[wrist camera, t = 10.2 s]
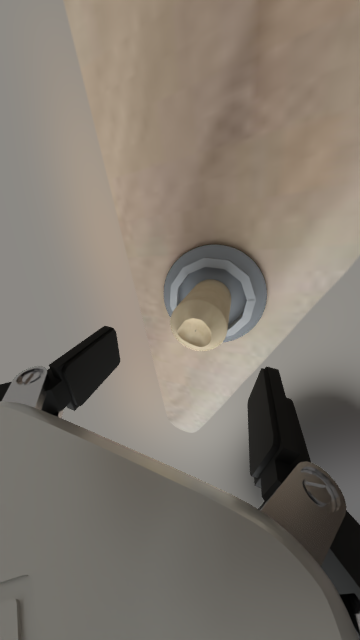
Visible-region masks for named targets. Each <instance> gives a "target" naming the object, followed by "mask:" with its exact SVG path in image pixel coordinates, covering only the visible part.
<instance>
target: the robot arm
mask: <svg viewBox="0 0 360 640" xmlns="http://www.w3.org/2000/svg"><path fill="white" fill-rule="evenodd" d="M119 363H120V356H119V349H118V343H117V336H116V331H115V330H114V328H111V327H108V326H104V327H102V328H101V329H99V330H98V331H97V332H95V333H94V334H92V335H91V336H89V337H88V338H87V339H85V340H84V341H82V342H81V343H80V344H78V345H77V346H75V347H74V348H72V349H71V350H70V351H68V352H67V353H65V354H64V355H62V356H61V357H60V358H58V359H57V360H55V361H54V362H53V363H51V364H50V365H49V366H50V369H48V370H47V369H46V368H45V367H43V366H36V367H32V368H29V369H26V370H24V371H22V372H21V373H19V374H18V375H17V376H16V377H15V378H14V379H13V381H12V382H9V383H5V384H1V385H0V640H360V525H359V524H358V523H357V521H356V520H355V519H354V518H353V517H352V516H351V515H350V514H349V513H348V512H347V510H346V502H345V499H344V496H343V494H342V492H341V490H340V488H339V486H338V485H337V483H336V482H335V481H334V480H333V479H332V478H331V476H330V475H329V474H328V473H327V472H326V471H324V470H323V469H322V468H321V467H319V466H317V465H315V464H314V463H311V461H310V458H309V454H308V451H307V447H306V444H305V441H304V437H303V434H302V430H301V427H300V424H299V420H298V417H297V414H296V410H295V407H294V404H293V401H292V400H291V399H289V398H286V396H285V392H284V389H283V385H282V381H281V377H280V374H279V370H277V369H273V368H270V367H266V368H265V369H261V371H260V373H259V375H258V378H257V380H256V383H255V385H254V387H253V390H252V392H251V395H250V397H249V400H248V429H249V456H250V474H251V476H252V477H254V480H255V481H254V482H255V486H257V487H259V488H261V489H262V497H263V499H264V502H263V503H262V504H261V506H260V507H259V508H258V509H257V508H255V507H253V506H252V505H250V504H248V503H246V502H245V501H243V500H241V499H239V498H237V497H235V496H233V495H231V494H229V493H227V492H225V491H223V490H221V489H218V488H216V487H214V486H212V485H210V484H208V483H206V482H203V481H201V480H199V479H197V478H195V477H193V476H191V475H188V474H186V473H184V472H182V471H179V470H177V469H175V468H173V467H170V466H168V465H166V464H164V463H161V462H159V461H157V460H155V459H152V458H150V457H148V456H146V455H144V454H141V453H139V452H137V451H134V450H132V449H130V448H128V447H125V446H123V445H121V444H119V443H116V442H114V441H112V440H110V439H107V438H105V437H102V436H100V435H98V434H96V433H94V432H91V431H89V430H87V429H84V428H82V427H80V426H77V425H75V424H73V423H71V422H68V421H66V420H63V419H62V415H63V409H64V408H65V407H66V406H67V407H68V408H70V409H72V410H74V411H75V410H76V409H77V408H78V407H79V406H81V405H82V404H83V403H84V402H85V401H86V400H87V399H88V398H89V397H90V396H91V395H92V393H93V392H94V391H95V390H96V389H97V388H98V387H99V386H100V384H102V383H103V381H104V380H105V379H106V378H107V377H108V376H109V375H110V374H111V373H112V371H113V370H114V369H115V368H116V367H117V366H118V365H119Z"/></svg>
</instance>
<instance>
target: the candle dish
mask: <svg viewBox="0 0 360 640" xmlns="http://www.w3.org/2000/svg"><path fill="white" fill-rule="evenodd" d="M208 279H214V280H218V281H220V282H222V283H223V284H224V285H226V287H227V288H228V290H229V292H230V294H231V306H230V314H229V322H228V329H227V334H226V337H225V339H224V341H223V342H228V341H232V340H235V339H237V338H239V337H241V336H243V335H245V334H246V333H247V332H249V331H250V330H251V329H252V328H253V327H254V326H255V325H256V324H257V322H258V321H259V319H260V318H261V316H262V314H263V312H264V309H265V305H266V299H267V289H266V284H265V280H264V277H263V275H262V273H261V271H260V269H259V268H258V266H257V265H256V264H255V262H254V261H253V260H252V259H251V258H250V257H249V256H247V255H246V254H244V253H243V252H241V251H239V250H237V249H235V248H232V247H229V246H225V245H205V246H201V247H197V248H195V249H193V250H190V251H189V252H187V253H185V254H184V255H183V256H181V257H180V258H179V259H178V260H177V261H176V262H175V263H174V265H173V266H172V267H171V269H170V271H169V273H168V275H167V277H166V280H165V285H164V301H165V306H166V309H167V311H168V314H169V316H170V317H171V315H172V313H173V311H174V309H175V308H176V307H177V306H178V305H179V304H180V302H181V301H182V300H183V299H184V298H185V297H186V296H187V295H188V293H189V292H190V291H191V290H192V289H193V288H194V287H195V286H196V285H197V284H198V283H200V282H201V281H204V280H208Z"/></svg>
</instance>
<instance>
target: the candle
mask: <svg viewBox="0 0 360 640" xmlns="http://www.w3.org/2000/svg"><path fill="white" fill-rule="evenodd" d="M230 306H231V294H230V292H229V290H228V288H227V287H226V285H224V284H223V283H222V282H220V281H218V280H214V279H208V280H204V281H201V282H200V283H198V284H197V285H196V286H195V287H194V288H193V289H192V290H191V291H190V292H189V293H188V295H187V296H186V297H185V298H184V299H183V300H182V301H181V302H180V304H179V305H178V306H177V307H176V308H175V309H174V311H173V313H172V315H171V319H170V325H171V330H172V332H173V334H174V336H175V338H176V339H177V340H178V341H179V342H180V343H181V344H182V345H184V346H185V347H187V348H190V349H192V350H196V351H208V350H212V349H214V348H216V347H218V346H219V345H220V344H221V343H222V342H223V341H224V339H225V337H226V334H227V329H228V322H229V314H230Z"/></svg>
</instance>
